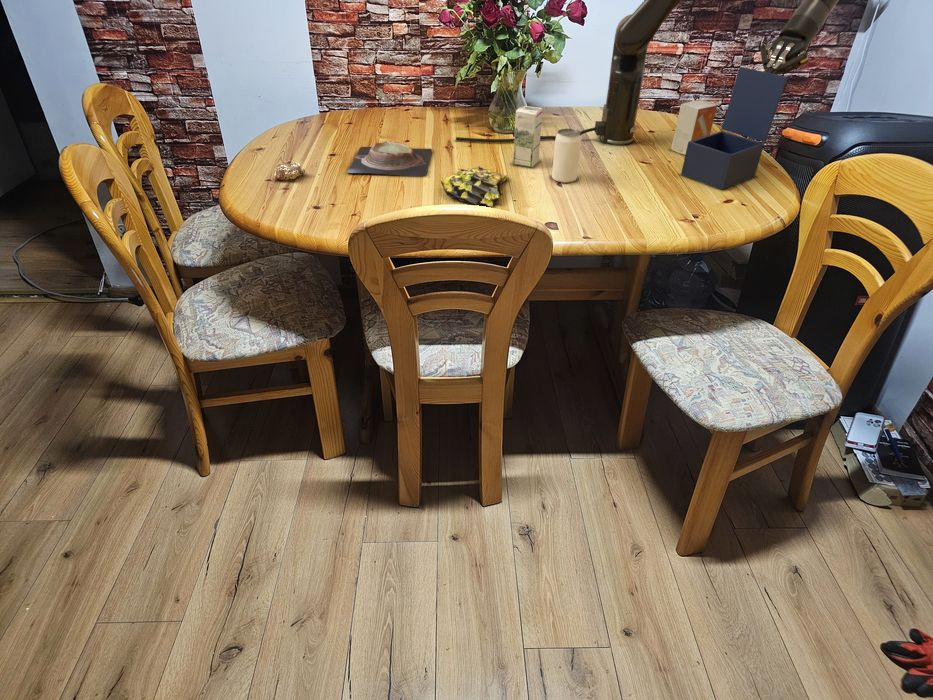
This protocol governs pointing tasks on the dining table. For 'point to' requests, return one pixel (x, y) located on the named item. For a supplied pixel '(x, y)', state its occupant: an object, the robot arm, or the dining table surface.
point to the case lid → (753, 103)
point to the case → (722, 159)
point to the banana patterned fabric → (474, 186)
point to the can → (566, 155)
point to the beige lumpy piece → (288, 171)
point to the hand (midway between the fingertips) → (763, 83)
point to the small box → (693, 123)
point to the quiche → (391, 160)
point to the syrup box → (527, 136)
